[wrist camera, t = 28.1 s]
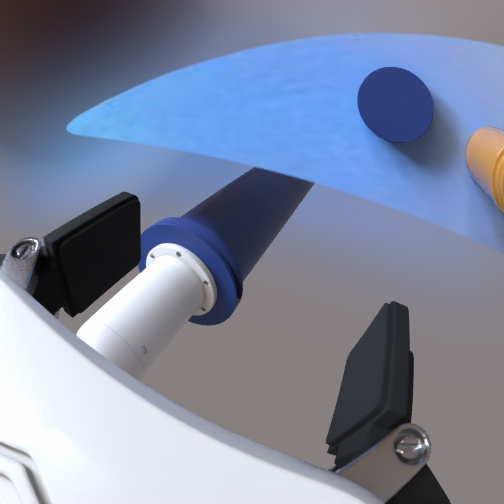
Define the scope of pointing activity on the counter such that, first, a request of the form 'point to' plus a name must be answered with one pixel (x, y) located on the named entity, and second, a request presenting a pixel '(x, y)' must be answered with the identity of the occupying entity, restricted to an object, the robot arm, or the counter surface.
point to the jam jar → (487, 162)
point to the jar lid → (395, 104)
